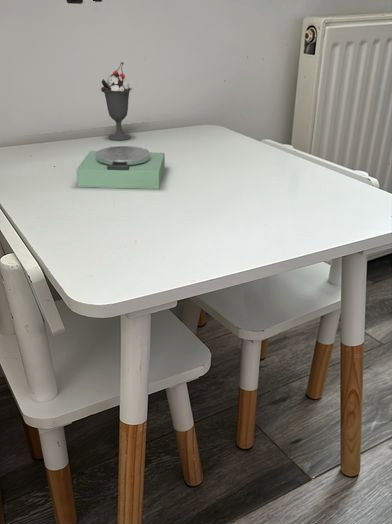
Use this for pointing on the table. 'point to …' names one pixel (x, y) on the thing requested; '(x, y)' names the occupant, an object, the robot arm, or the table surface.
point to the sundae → (117, 101)
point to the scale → (121, 173)
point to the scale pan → (122, 155)
